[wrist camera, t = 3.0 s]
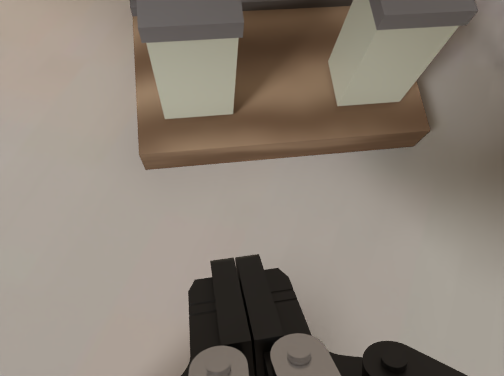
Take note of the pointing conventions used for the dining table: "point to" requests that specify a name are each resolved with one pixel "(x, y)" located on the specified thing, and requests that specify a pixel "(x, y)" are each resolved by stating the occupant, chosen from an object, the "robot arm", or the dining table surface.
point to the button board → (275, 97)
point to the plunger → (391, 46)
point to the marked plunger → (192, 53)
